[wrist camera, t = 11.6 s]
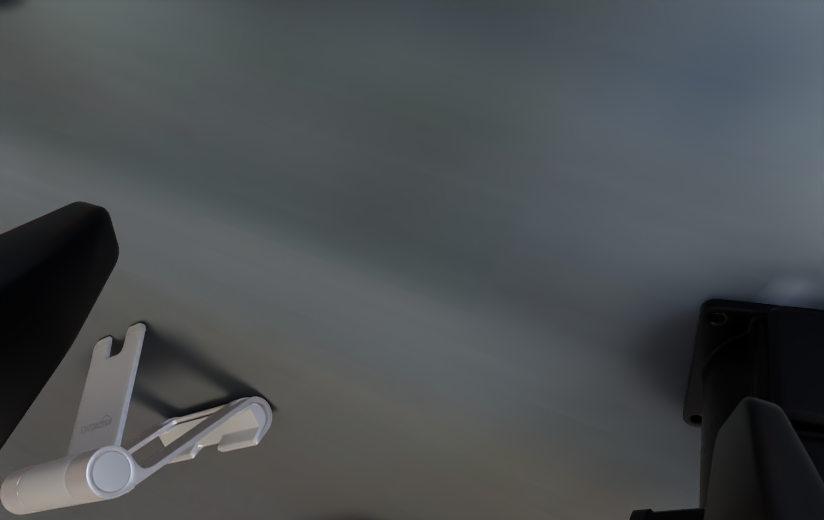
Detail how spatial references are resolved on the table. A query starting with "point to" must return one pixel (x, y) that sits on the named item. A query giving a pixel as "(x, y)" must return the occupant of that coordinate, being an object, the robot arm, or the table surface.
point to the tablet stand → (102, 433)
